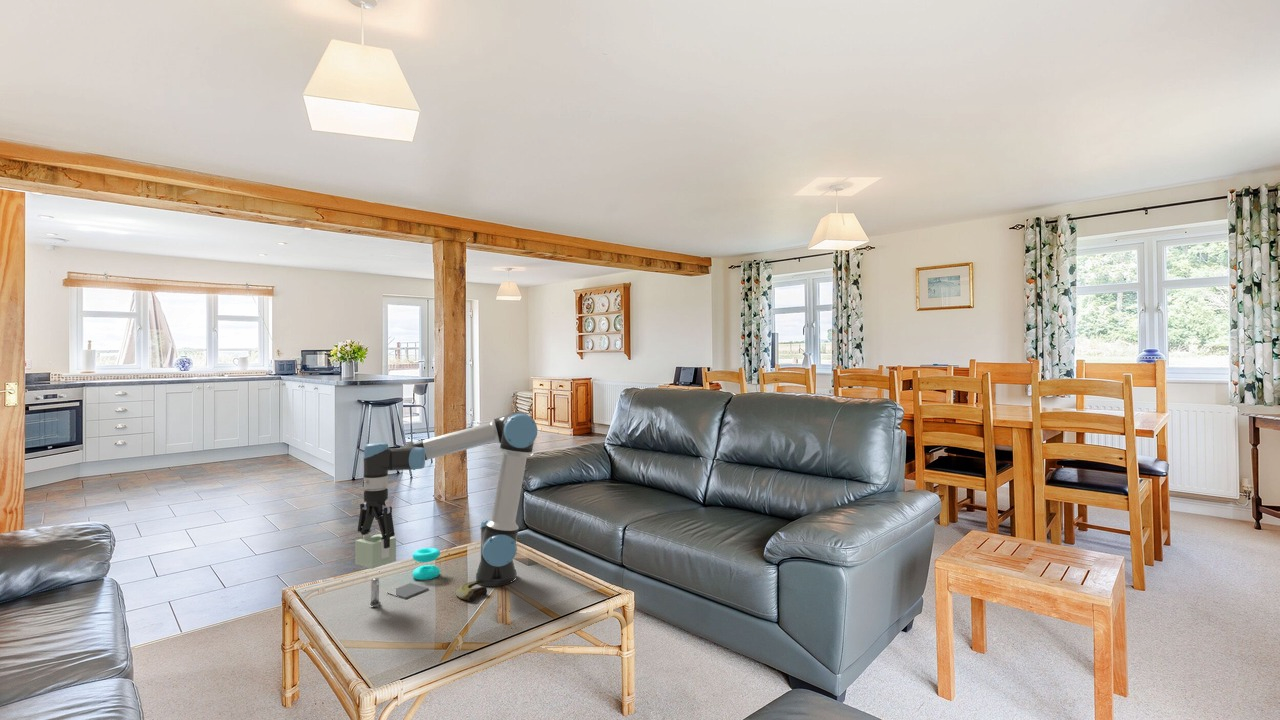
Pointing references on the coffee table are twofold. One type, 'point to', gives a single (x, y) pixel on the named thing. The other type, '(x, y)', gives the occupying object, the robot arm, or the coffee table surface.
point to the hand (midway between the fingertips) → (375, 555)
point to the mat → (409, 590)
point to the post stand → (375, 592)
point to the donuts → (426, 570)
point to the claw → (470, 591)
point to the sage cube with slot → (373, 551)
